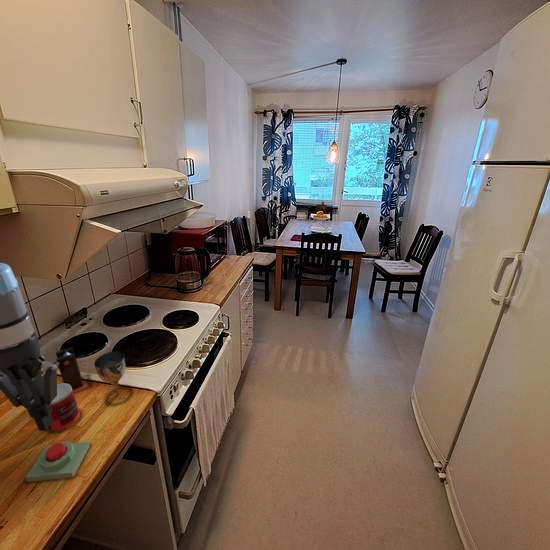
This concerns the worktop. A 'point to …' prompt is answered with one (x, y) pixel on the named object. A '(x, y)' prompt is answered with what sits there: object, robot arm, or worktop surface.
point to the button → (55, 452)
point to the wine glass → (111, 368)
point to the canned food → (63, 408)
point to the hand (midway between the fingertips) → (46, 425)
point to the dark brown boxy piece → (69, 368)
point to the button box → (58, 463)
